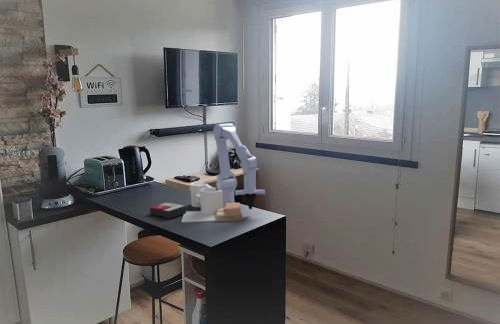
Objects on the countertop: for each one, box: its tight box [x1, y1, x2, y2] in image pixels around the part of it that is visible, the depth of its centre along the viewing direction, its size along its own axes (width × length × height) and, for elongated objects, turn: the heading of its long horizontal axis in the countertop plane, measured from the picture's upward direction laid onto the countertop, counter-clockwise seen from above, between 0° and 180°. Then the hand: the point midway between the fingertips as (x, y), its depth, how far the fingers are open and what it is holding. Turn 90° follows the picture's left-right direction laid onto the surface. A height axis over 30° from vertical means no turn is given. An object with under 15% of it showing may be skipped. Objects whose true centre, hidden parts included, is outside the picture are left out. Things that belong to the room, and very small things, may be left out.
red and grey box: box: [149, 202, 187, 220], centre depth 200 cm, size 11×4×15 cm
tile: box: [226, 202, 242, 214], centre depth 196 cm, size 10×7×2 cm
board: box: [216, 205, 243, 222], centre depth 196 cm, size 16×12×2 cm
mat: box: [181, 210, 218, 224], centre depth 195 cm, size 16×16×1 cm
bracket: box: [190, 181, 222, 214], centre depth 208 cm, size 25×10×12 cm, turn 29°
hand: (250, 208), depth 197 cm, fingers closed
